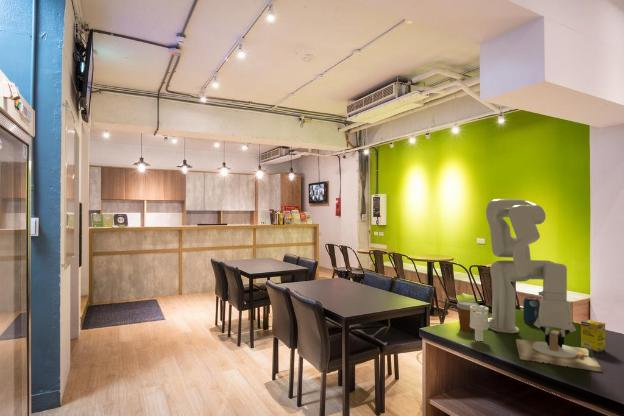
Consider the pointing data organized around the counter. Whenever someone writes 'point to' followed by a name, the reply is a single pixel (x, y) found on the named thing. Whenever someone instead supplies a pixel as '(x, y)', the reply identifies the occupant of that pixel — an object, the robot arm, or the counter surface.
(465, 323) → the disposable coffee cup
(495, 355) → the counter surface
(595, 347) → the supplement box
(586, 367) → the level stand
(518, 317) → the counter surface
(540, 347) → the dial
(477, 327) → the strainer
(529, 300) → the soda can
